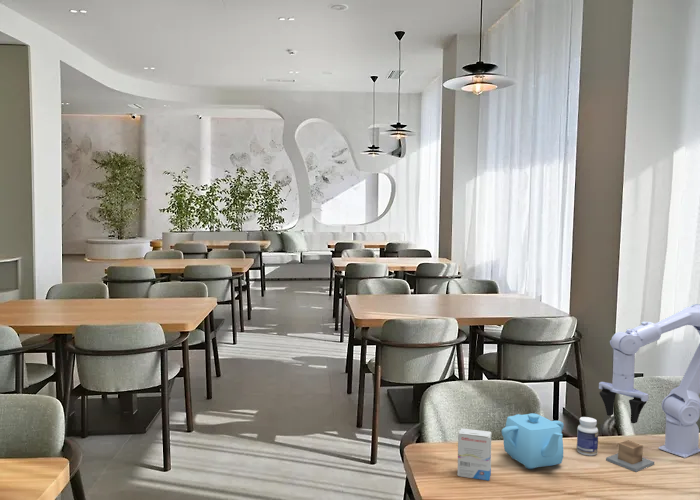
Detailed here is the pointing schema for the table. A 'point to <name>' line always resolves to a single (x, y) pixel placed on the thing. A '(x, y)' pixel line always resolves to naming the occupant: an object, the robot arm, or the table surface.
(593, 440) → the pill bottle
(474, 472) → the ink box
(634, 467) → the slate coaster
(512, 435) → the teapot
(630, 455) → the walnut cube
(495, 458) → the table surface
